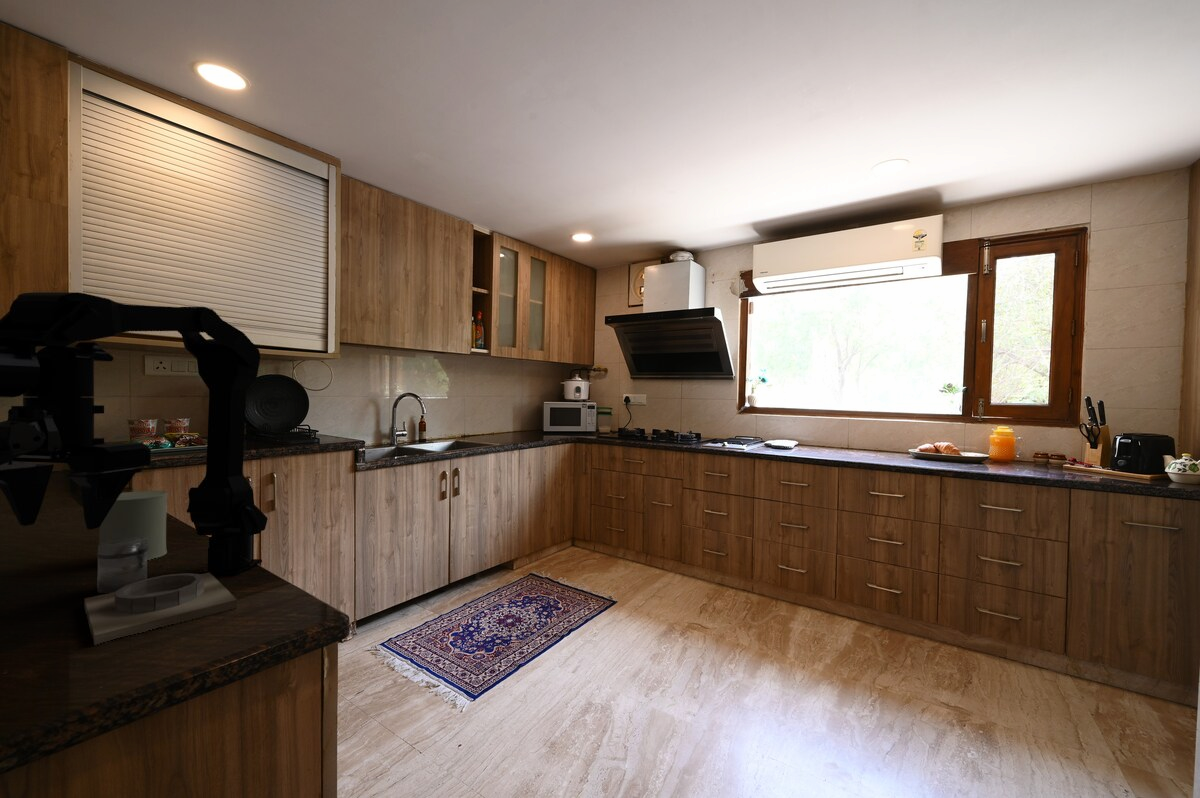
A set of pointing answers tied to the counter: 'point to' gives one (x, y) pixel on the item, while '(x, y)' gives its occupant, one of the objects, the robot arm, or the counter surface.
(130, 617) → the ring plate
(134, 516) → the can
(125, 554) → the piston
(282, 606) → the counter surface
